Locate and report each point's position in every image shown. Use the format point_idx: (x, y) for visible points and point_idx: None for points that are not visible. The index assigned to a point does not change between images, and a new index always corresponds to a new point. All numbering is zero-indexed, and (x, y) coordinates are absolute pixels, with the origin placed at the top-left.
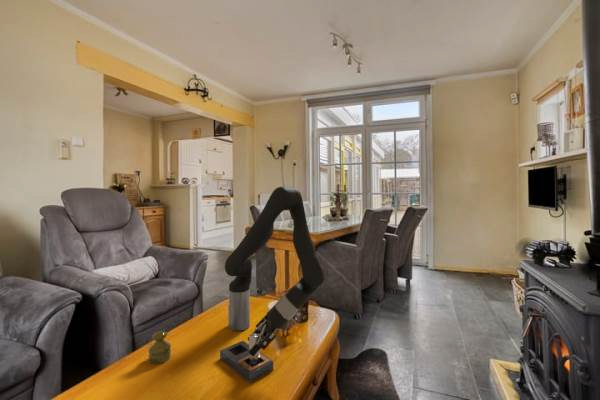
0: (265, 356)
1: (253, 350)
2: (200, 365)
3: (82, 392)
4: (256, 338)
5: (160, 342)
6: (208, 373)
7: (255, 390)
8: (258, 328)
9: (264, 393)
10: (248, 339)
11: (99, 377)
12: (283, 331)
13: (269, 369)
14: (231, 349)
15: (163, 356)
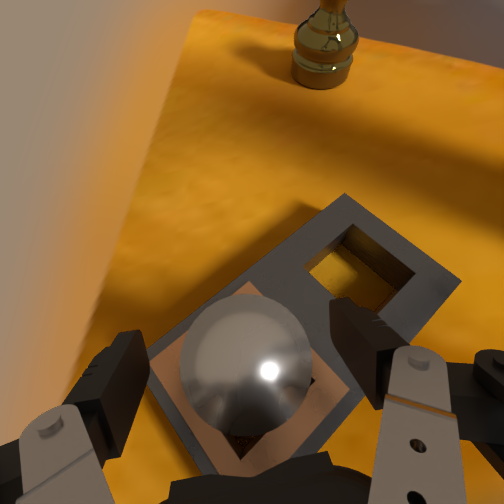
0: None
1: (84, 372)
2: (286, 166)
3: (199, 15)
4: (185, 393)
5: (321, 11)
6: (238, 197)
7: None
8: (383, 408)
9: None
10: (331, 304)
11: (243, 17)
12: None
13: None
14: (367, 238)
15: (302, 65)
